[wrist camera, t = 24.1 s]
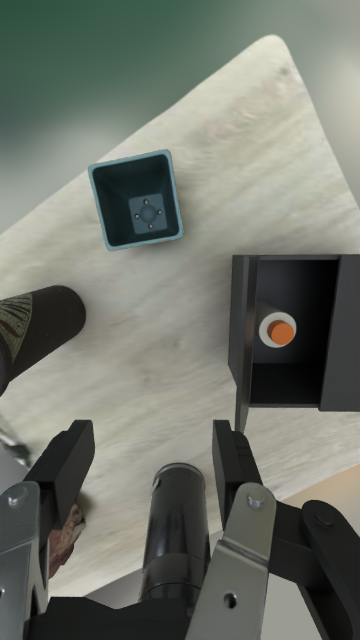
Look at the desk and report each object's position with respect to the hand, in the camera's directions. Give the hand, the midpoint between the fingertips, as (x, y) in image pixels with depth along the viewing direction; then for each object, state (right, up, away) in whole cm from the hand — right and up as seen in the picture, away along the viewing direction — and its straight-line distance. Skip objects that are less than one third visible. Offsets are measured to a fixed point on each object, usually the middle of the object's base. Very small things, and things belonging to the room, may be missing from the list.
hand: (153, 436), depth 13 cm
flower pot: (-3, +20, +24) cm, 31 cm away
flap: (+7, +3, +11) cm, 13 cm away
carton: (+17, +7, +27) cm, 32 cm away
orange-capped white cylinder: (+13, +7, +26) cm, 30 cm away
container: (-17, +7, +27) cm, 33 cm away
